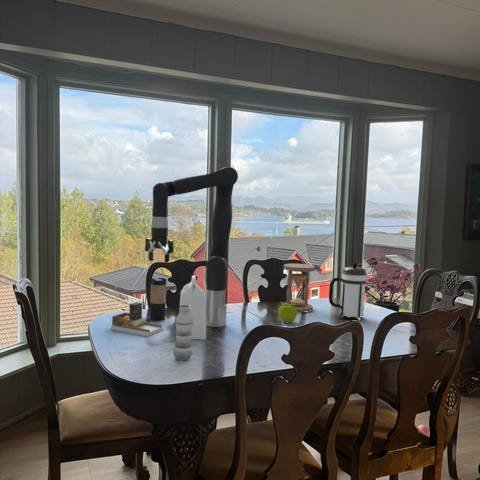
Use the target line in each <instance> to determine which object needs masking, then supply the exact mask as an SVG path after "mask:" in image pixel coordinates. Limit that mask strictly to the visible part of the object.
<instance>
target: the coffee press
mask: <svg viewBox="0 0 480 480" xmlns="http://www.w3.org/2000/svg"><path fill="white" fill-rule="evenodd" d="M341 273H342V277H335V278H332V279H331V281H330V283H329V290H328V301H329V304H330V305H331V306H332V307H335V308H338V309H339V310H340V315H339V316H341V317H342V316H346V317H345V318H351V317H360V316H364V309H365V308H364V307H365V295H366V294H365V293H366V284H367V280H369V279H370V277H369V275H368V272H367V271H366V269H365V268H363V267H358V264H357V262H353V263H352V266H345V267H344V268H343V270H342V271H341ZM336 282H341V294H340V304H339V303H335V301H333V294H334V293H333V292H334V284H335V283H336Z"/></svg>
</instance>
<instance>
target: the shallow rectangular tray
mask: <svg viewBox="0 0 480 480" xmlns="http://www.w3.org/2000/svg"><path fill="white" fill-rule="evenodd" d="M109 329H110V330H111V331H112V330H113V331H117V332H121V333H122V332H123V333H127V334H128V333H129V334H133V335H138V336H143V337H149V336H151V335H154V334H157V333H159V332H162V331H164V326H162V324H157V323H151V322H146V321H145V325H142V326H139V327H132V326H127V325H126V324H124V323H123V325H121V327H120V326H115V325H112V324H111V325H110V328H109Z"/></svg>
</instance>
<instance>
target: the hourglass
mask: <svg viewBox="0 0 480 480" xmlns="http://www.w3.org/2000/svg"><path fill="white" fill-rule="evenodd" d="M283 269H284V270H286V271H287V273H288V274H287V281H286V284H287V290H286V302H285V303H286V304H290V305H291V304H297V305H294V306H295V308H296V309H297V312H304V311H310V310H312V309H313V310H314V307H313V305H312V304H308V301H309V294H310V291H309V284H310V273H311V272H314V271H316V266H315V265H312V264H305V263H285V264H283ZM293 272H298V273H293ZM299 272H300V273H299ZM301 272H302V273H301ZM293 282H294V284H295V285H296V289H298V290H299V289H300V288H301V285H302V284H303V283H304V289H303V299H301V298H299V297H295V298H293V299H292V296H293V292H292V286H293ZM281 305H284V304H283V303H281ZM313 310H312V311H313Z"/></svg>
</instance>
